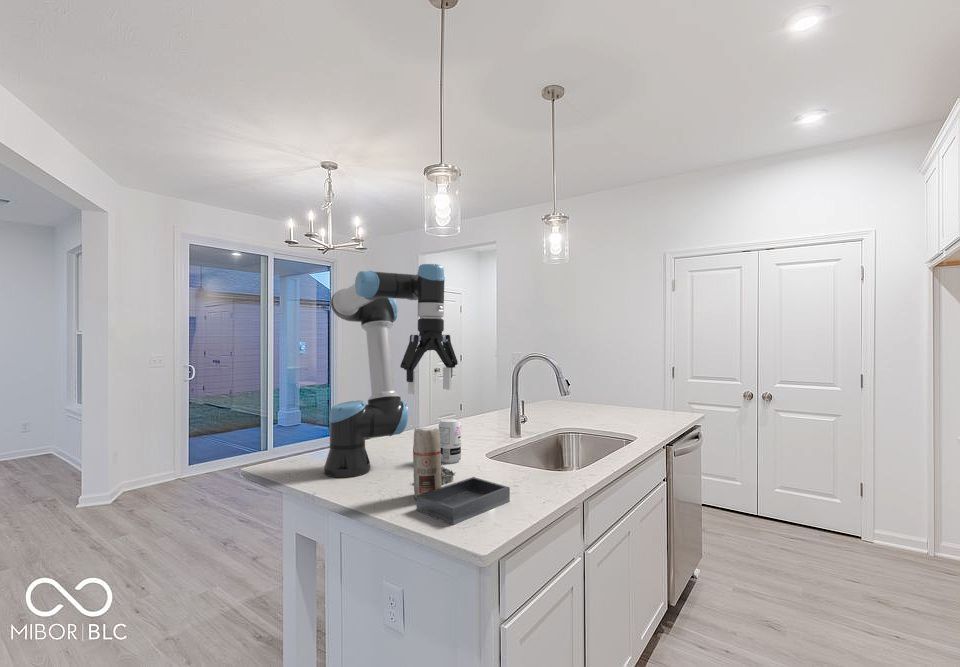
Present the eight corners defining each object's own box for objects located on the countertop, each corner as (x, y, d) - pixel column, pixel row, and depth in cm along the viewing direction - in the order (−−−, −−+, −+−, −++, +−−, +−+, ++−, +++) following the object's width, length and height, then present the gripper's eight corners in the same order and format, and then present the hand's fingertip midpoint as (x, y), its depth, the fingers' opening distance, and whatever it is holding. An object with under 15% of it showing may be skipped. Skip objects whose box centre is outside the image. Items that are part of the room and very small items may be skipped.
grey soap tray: (453, 525, 114) (453, 508, 114) (416, 510, 124) (416, 495, 124) (509, 501, 131) (509, 487, 131) (473, 490, 140) (473, 476, 140)
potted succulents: (430, 489, 142) (430, 476, 142) (416, 483, 147) (416, 470, 147) (457, 481, 149) (457, 469, 149) (442, 476, 154) (442, 464, 154)
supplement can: (438, 458, 176) (438, 418, 177) (460, 457, 177) (460, 418, 177) (438, 464, 168) (438, 422, 168) (461, 463, 169) (461, 422, 169)
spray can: (407, 499, 132) (407, 428, 132) (421, 490, 140) (421, 423, 140) (434, 503, 129) (434, 431, 129) (446, 493, 137) (446, 425, 137)
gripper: (405, 316, 123) (405, 397, 123) (469, 319, 142) (469, 388, 142) (387, 317, 128) (387, 394, 128) (452, 319, 147) (451, 386, 147)
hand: (430, 391), depth 135 cm, fingers open, 13 cm apart
